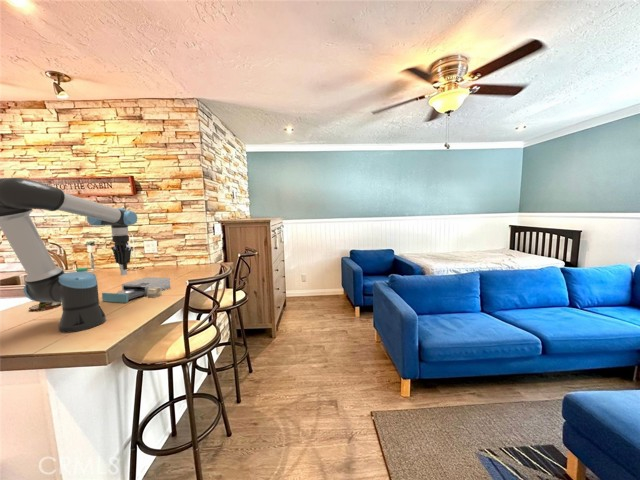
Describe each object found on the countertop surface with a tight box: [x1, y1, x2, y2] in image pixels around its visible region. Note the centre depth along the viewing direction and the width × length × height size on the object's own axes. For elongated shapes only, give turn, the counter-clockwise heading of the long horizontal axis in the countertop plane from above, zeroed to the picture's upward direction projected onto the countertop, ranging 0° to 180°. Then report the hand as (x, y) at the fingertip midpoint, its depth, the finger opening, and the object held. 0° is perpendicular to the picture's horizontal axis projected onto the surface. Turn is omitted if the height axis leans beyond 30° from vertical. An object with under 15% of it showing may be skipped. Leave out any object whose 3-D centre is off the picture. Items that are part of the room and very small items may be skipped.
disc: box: [117, 289, 135, 295], centre depth 146 cm, size 8×8×2 cm
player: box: [121, 276, 171, 297], centre depth 160 cm, size 18×18×7 cm
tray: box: [101, 289, 145, 304], centre depth 147 cm, size 17×17×5 cm
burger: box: [28, 302, 62, 313], centre depth 133 cm, size 12×12×8 cm
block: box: [147, 287, 163, 299], centre depth 149 cm, size 5×5×5 cm
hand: (124, 274), depth 145 cm, fingers closed
